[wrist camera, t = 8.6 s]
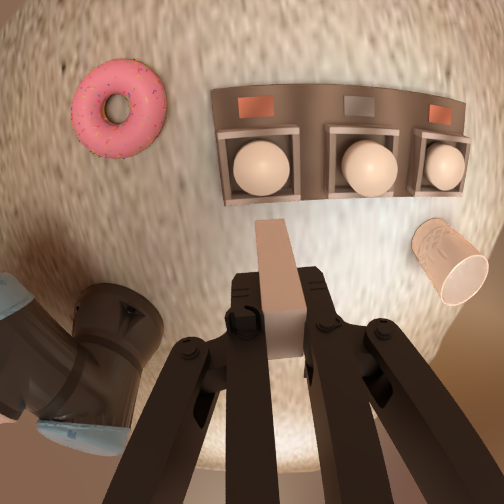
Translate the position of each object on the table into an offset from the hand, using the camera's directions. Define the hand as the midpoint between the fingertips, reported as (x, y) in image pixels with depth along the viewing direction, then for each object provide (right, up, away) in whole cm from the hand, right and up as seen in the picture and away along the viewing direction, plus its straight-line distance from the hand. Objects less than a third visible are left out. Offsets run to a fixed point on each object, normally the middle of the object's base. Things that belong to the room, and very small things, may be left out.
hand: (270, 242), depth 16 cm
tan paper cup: (+25, +2, +21) cm, 33 cm away
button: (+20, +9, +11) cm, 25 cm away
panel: (+10, +12, +14) cm, 21 cm away
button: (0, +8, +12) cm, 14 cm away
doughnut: (-15, +15, +11) cm, 24 cm away
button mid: (+10, +8, +10) cm, 16 cm away
